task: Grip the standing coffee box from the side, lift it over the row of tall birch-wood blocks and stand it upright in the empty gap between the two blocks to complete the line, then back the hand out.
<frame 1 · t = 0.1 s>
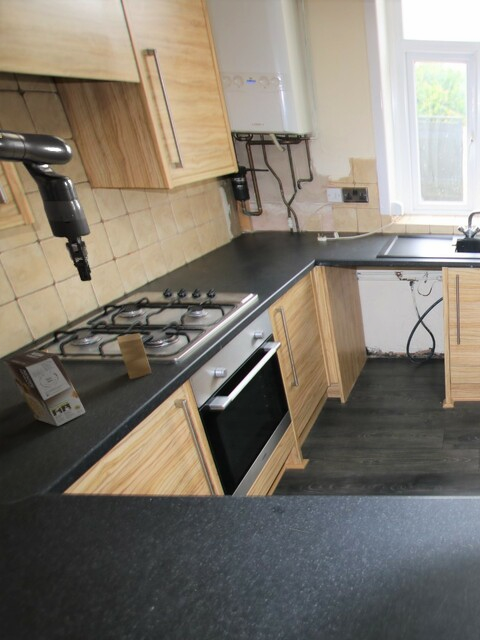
hand: (86, 277, 130), 26 cm above the counter, tool pointing down, fingers open, 8 cm apart
coffee box: (61, 416, 114), on the counter
birch block 2: (141, 376, 133), on the counter
birch block 1: (50, 396, 122), on the counter
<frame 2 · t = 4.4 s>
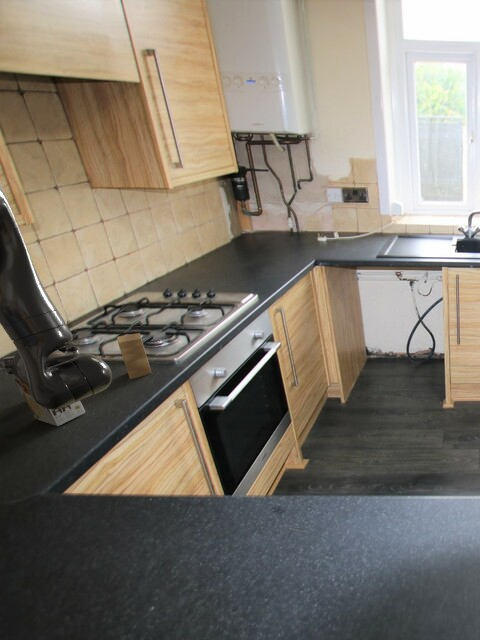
hand: (22, 356, 99), 20 cm above the counter, tool horizontal, fingers open, 8 cm apart
nothing on the counter moved.
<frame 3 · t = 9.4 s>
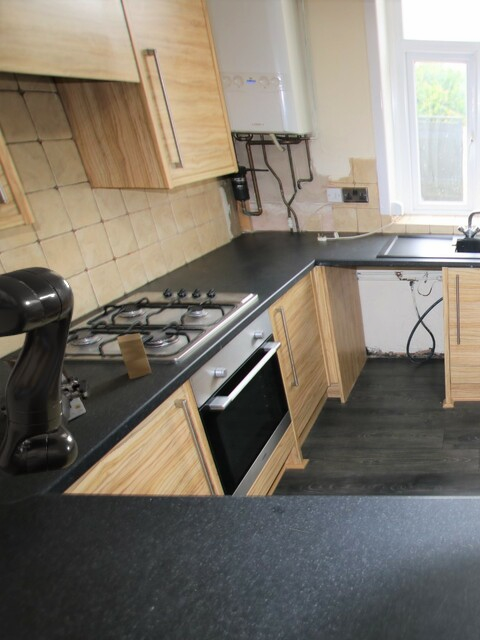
hand: (49, 384, 110), 9 cm above the counter, tool horizontal, fingers closed on coffee box, 8 cm apart
coffee box: (61, 416, 114), on the counter, touching gripper
everything else where it was.
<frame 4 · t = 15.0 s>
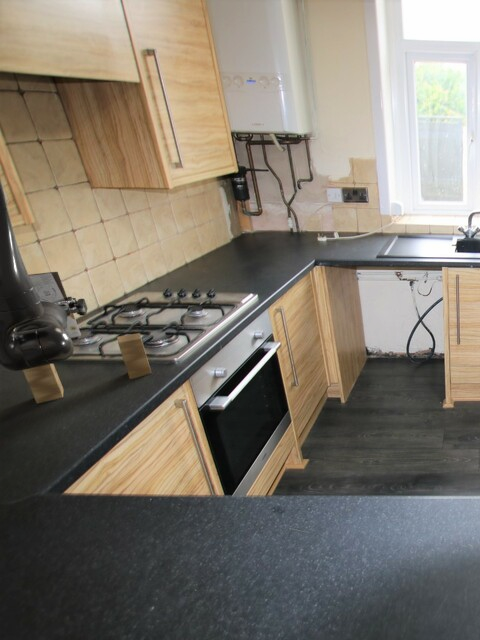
hand: (47, 303, 112), 26 cm above the counter, tool horizontal, fingers closed on coffee box, 8 cm apart
coffee box: (57, 340, 115), point 16 cm above the counter, touching gripper
everything else where it was.
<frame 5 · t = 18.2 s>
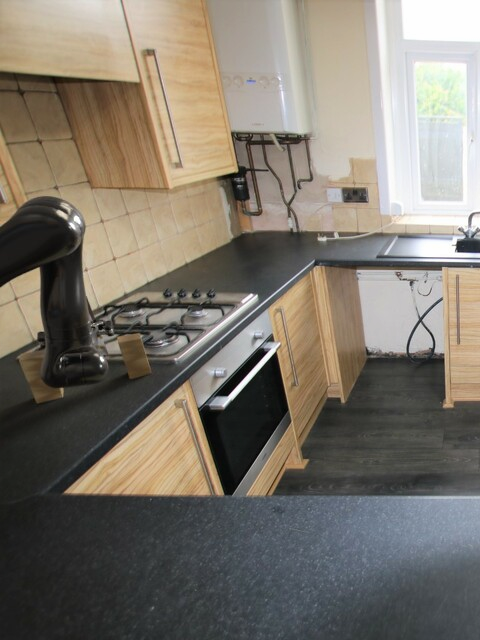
hand: (77, 325, 122), 17 cm above the counter, tool horizontal, fingers closed on coffee box, 8 cm apart
coffee box: (86, 358, 125), point 8 cm above the counter, touching gripper
everything else where it was.
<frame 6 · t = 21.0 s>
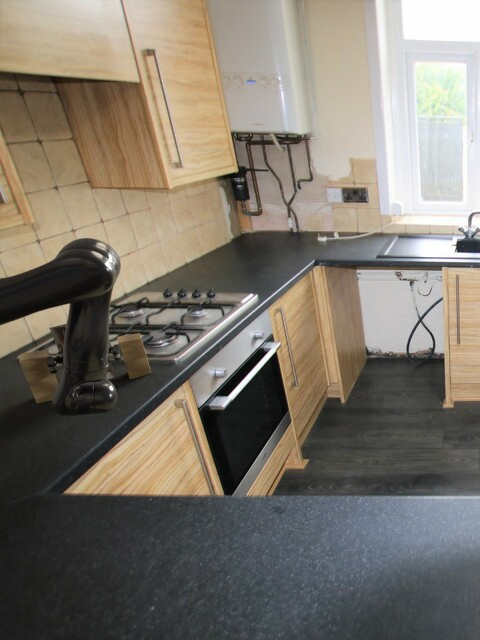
hand: (85, 348, 125), 10 cm above the counter, tool horizontal, fingers closed on coffee box, 8 cm apart
coffee box: (94, 381, 128), point 1 cm above the counter, touching gripper
everything else where it was.
when the fingers open (10 cm above the counter, at t = 21.5 s): coffee box stays where it is, on the counter.
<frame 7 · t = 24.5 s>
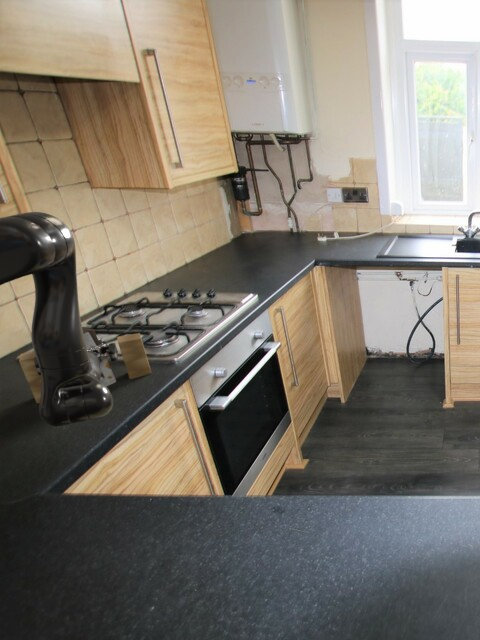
hand: (78, 347, 114), 16 cm above the counter, tool horizontal, fingers open, 8 cm apart
coffee box: (95, 385, 128), on the counter
everything else where it was.
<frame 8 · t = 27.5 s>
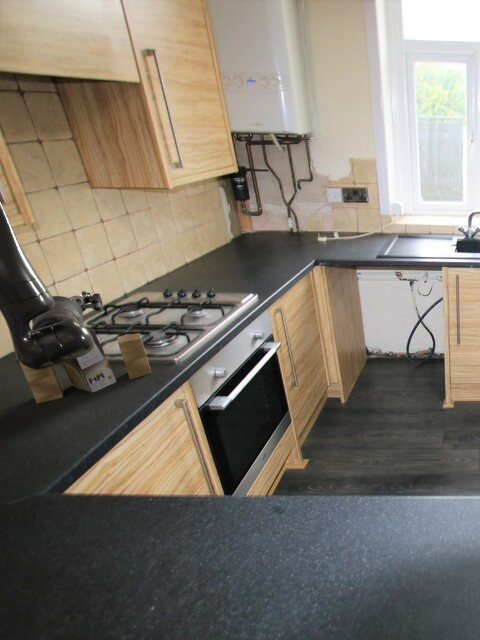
hand: (60, 298, 109), 28 cm above the counter, tool horizontal, fingers open, 8 cm apart
nothing on the counter moved.
at the end: coffee box 1.0 cm from the target spot, on the counter; coffee box tilted 4°; the gripper is holding nothing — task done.
